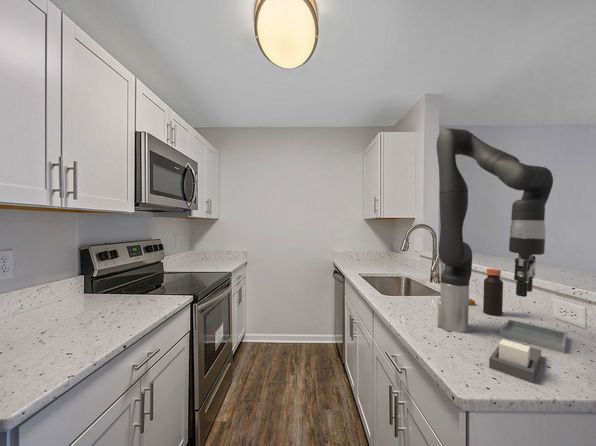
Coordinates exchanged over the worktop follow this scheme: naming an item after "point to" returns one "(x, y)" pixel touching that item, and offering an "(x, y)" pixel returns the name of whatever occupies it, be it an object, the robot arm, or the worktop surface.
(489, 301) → the bottle
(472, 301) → the pastry
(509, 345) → the block
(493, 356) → the grey slotted base
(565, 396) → the worktop surface
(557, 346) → the tray
